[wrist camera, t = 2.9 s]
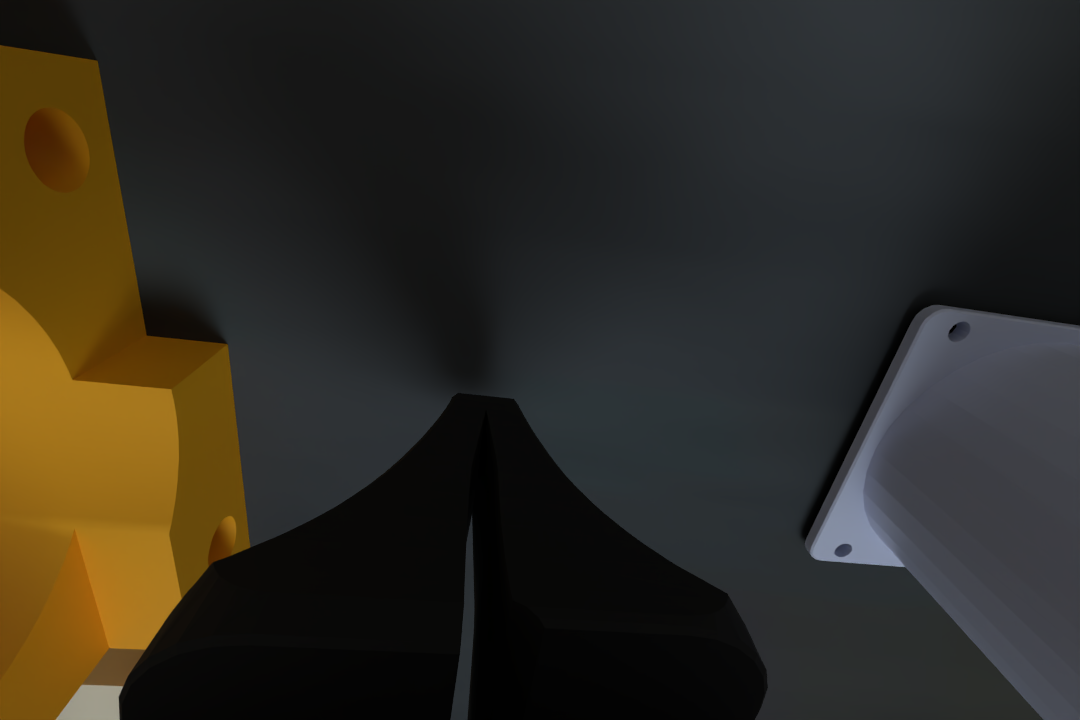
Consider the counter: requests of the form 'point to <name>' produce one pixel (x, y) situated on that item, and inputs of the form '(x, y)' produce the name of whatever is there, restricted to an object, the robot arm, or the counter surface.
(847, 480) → the robot arm
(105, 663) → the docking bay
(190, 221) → the counter surface
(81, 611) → the pipe clamp
